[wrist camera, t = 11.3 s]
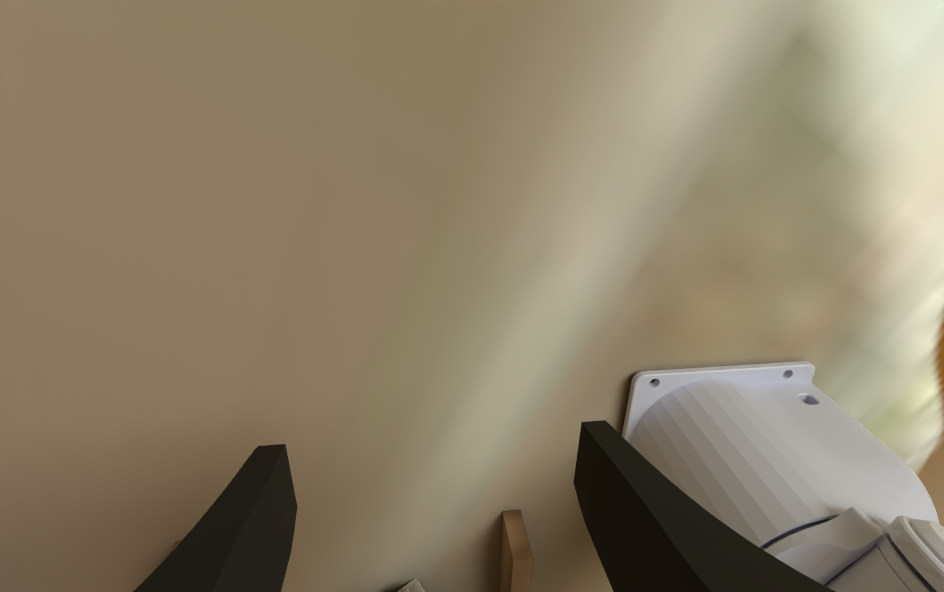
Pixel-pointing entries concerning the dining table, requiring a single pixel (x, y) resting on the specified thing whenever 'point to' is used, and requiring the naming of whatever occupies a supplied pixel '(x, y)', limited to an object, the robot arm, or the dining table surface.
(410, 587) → the origami crane
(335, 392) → the dining table surface
